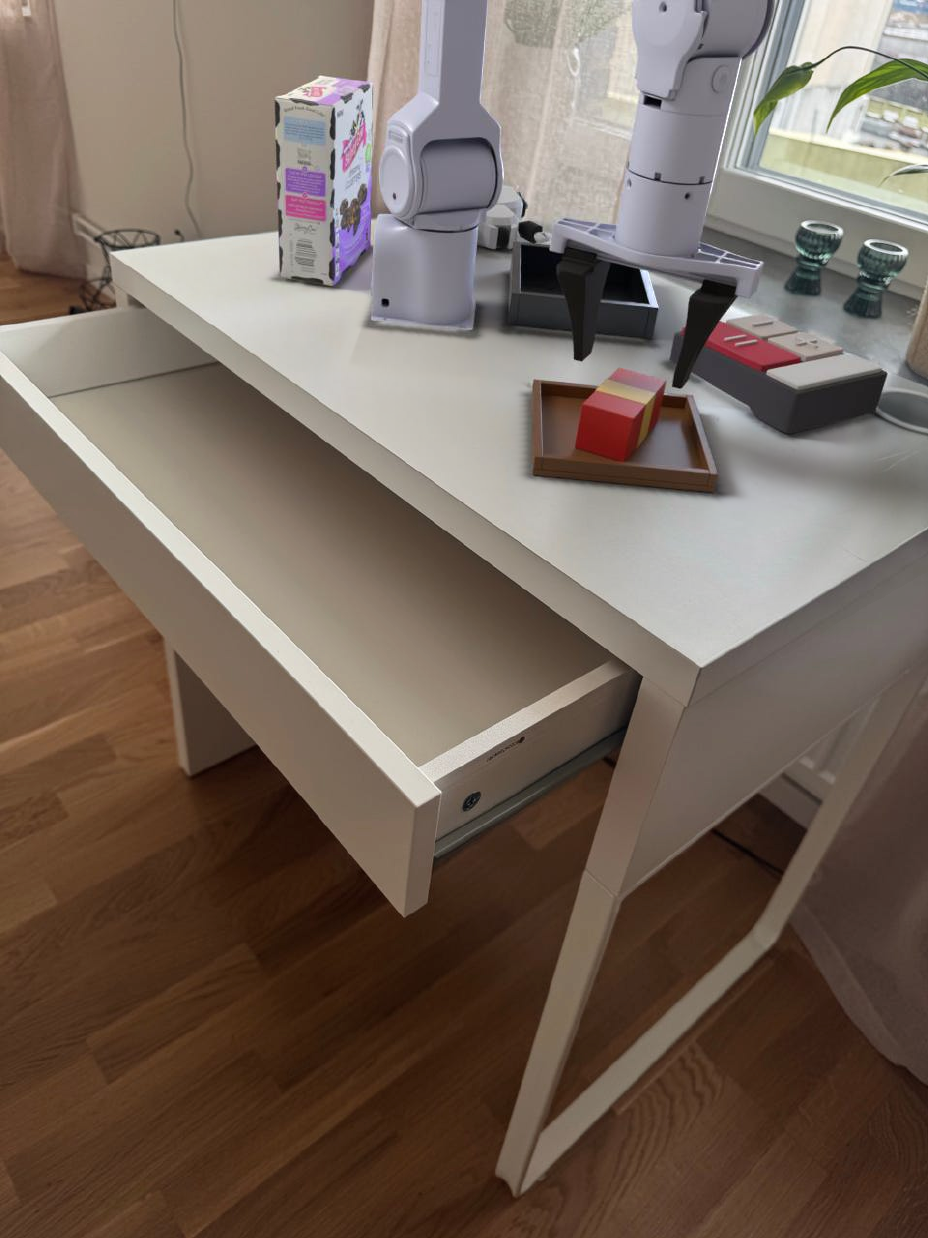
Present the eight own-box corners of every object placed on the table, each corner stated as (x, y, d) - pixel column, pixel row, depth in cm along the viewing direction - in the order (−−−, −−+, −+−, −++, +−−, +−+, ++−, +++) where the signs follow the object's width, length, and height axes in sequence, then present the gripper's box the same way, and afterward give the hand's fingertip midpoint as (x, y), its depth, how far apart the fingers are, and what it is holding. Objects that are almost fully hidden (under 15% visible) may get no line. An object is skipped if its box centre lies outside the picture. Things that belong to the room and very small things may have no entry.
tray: (532, 474, 70) (534, 456, 69) (531, 395, 80) (533, 378, 79) (713, 492, 70) (718, 474, 69) (689, 411, 80) (693, 394, 79)
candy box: (334, 288, 96) (334, 103, 85) (277, 279, 96) (270, 95, 86) (372, 247, 106) (376, 79, 96) (321, 239, 107) (319, 71, 97)
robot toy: (553, 265, 109) (513, 215, 120) (560, 225, 106) (518, 177, 117) (448, 266, 106) (417, 214, 116) (452, 225, 103) (419, 175, 113)
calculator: (762, 308, 90) (893, 363, 80) (751, 353, 93) (877, 412, 83) (673, 323, 85) (801, 384, 75) (665, 370, 88) (787, 435, 78)
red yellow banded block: (573, 448, 72) (581, 403, 70) (610, 409, 78) (618, 366, 76) (624, 463, 71) (634, 418, 69) (657, 422, 77) (667, 379, 75)
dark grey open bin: (507, 330, 91) (511, 292, 88) (509, 275, 103) (513, 240, 101) (650, 345, 91) (658, 307, 89) (636, 288, 103) (642, 254, 101)
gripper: (793, 182, 63) (739, 376, 72) (588, 142, 68) (560, 328, 76) (769, 205, 58) (714, 411, 67) (550, 159, 63) (524, 357, 71)
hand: (630, 369), depth 71 cm, fingers open, 7 cm apart
